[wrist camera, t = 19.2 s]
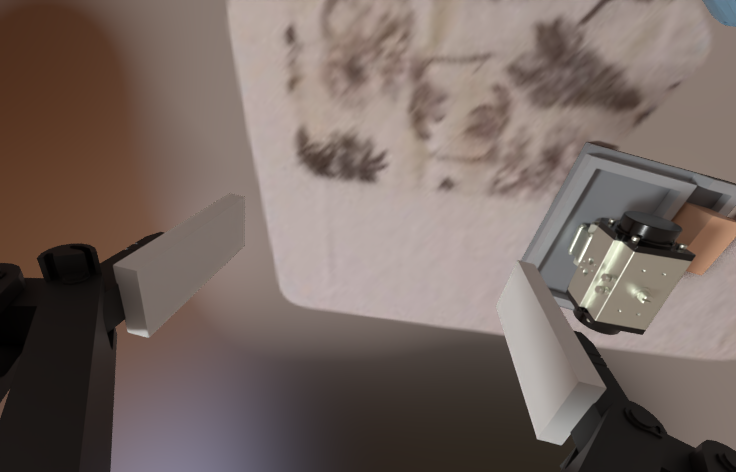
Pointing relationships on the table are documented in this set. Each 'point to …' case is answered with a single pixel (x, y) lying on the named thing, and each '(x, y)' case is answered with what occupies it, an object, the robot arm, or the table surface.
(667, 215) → the grey tray
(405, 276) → the table surface
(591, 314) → the pneumatic valve
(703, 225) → the tan cardboard box
